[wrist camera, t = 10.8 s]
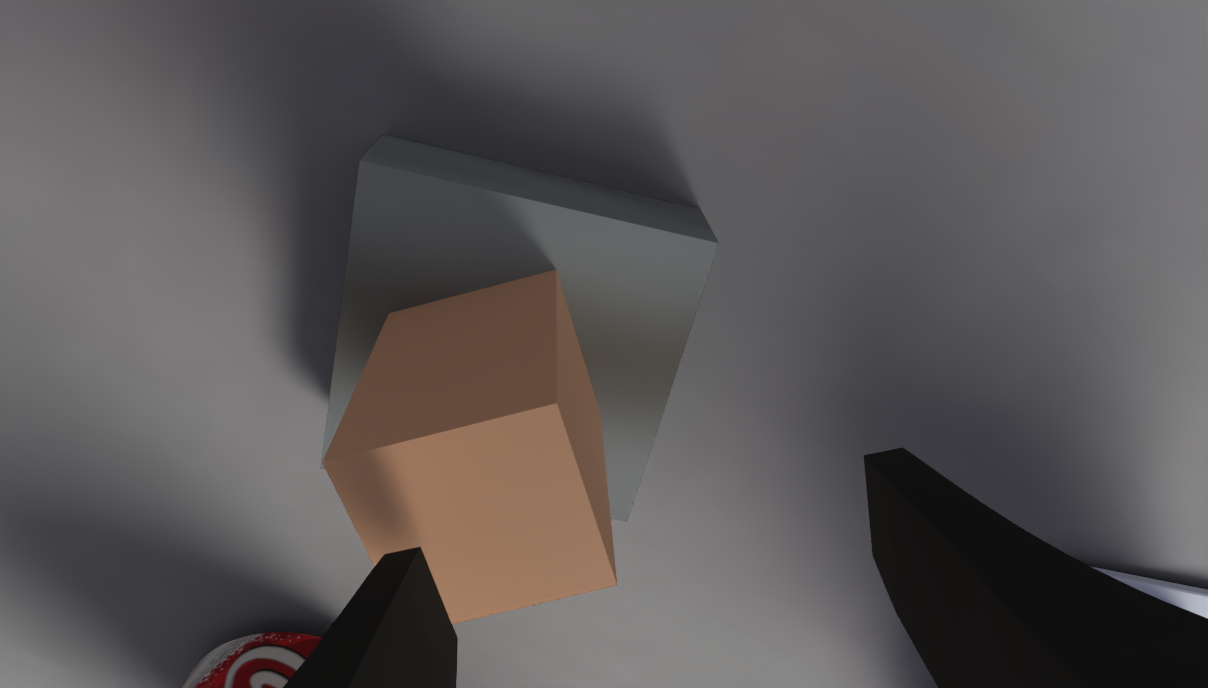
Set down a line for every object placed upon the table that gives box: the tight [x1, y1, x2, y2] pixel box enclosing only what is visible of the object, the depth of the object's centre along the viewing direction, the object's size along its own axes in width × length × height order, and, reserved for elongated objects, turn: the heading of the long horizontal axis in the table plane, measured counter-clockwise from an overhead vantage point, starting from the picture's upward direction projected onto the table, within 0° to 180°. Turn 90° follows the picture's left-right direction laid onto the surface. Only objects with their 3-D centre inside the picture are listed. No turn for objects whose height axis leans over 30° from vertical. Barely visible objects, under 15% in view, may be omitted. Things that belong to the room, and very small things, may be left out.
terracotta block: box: [322, 270, 617, 624], centre depth 17 cm, size 4×4×6 cm
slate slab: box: [321, 134, 719, 522], centre depth 21 cm, size 8×8×3 cm
